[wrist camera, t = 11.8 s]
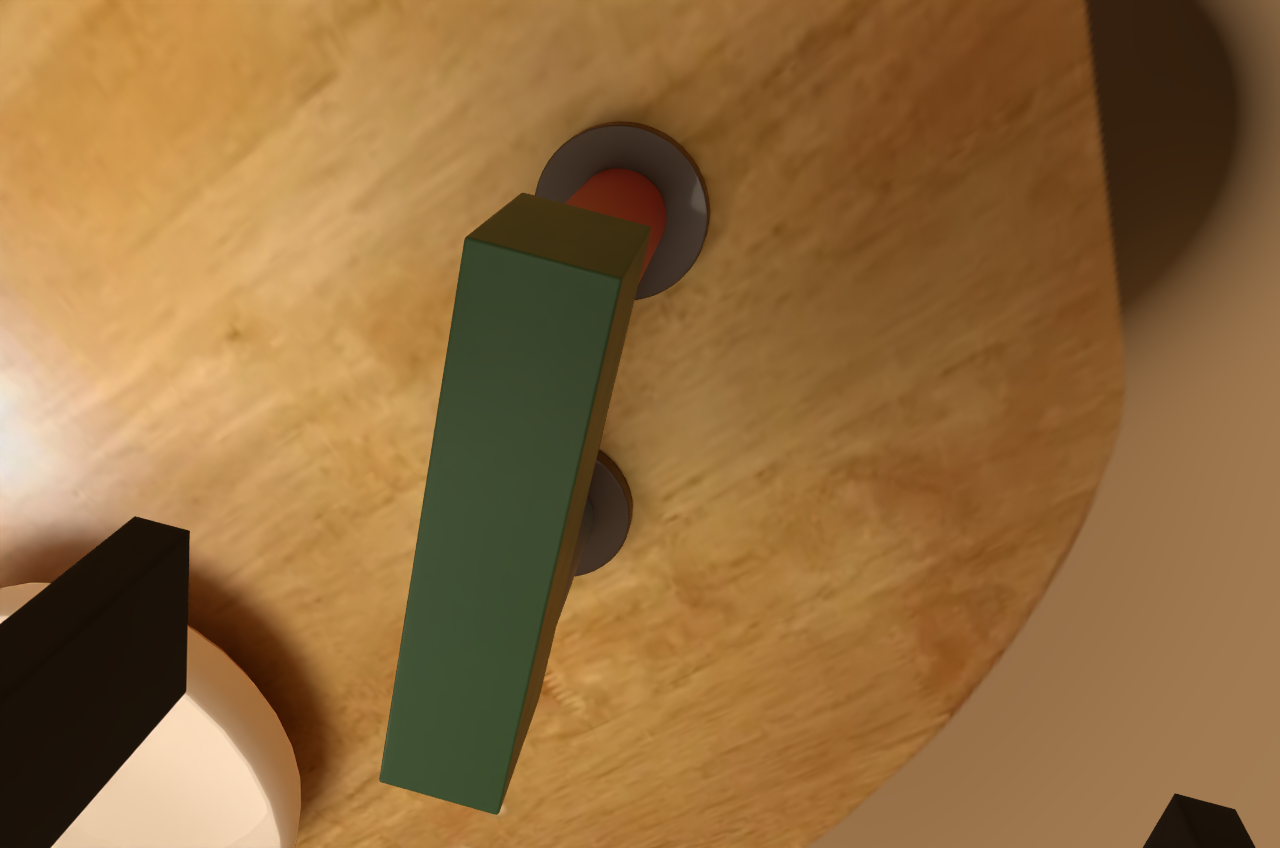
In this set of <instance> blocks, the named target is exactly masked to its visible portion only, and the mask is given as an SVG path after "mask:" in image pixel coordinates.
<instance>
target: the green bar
mask: <svg viewBox="0 0 1280 848" xmlns="http://www.w3.org/2000/svg"><path fill="white" fill-rule="evenodd" d="M650 233H651V227H650V226H647V225H643V224H639V223H636V222H632V221H628V220H624V219H621V218H617V217H613V216H609V215H605V214H602V213H598V212H594V211H590V210H587V209H583V208H579V207H575V206H571V205H568V204H564V203H560V202H556V201H553V200H549V199H545V198H541V197H538V196H534V195H530V194H526V193H521V194H520V195H518V196H517V197H516V198H514V199H513V200H512V201H511V202H509V203H508V204H507V205H506V206H504V207H503V208H502V209H501V210H499V211H498V212H497V213H496V214H494V215H493V216H492V217H490V218H489V219H488V220H487V221H485V222H484V223H483V224H482V225H480V226H479V227H478V228H477V229H475V230H474V231H473V232H472V233H470V234H469V235H468V236H467V237H466V238H465V240H464V246H463V252H462V259H461V265H460V271H459V278H458V284H457V290H456V297H455V303H454V309H453V316H452V322H451V328H450V335H449V341H448V347H447V354H446V360H445V366H444V373H443V379H442V385H441V392H440V398H439V404H438V411H437V417H436V423H435V430H434V436H433V442H432V449H431V455H430V461H429V468H428V474H427V481H426V487H425V493H424V500H423V506H422V512H421V519H420V525H419V531H418V538H417V544H416V550H415V557H414V563H413V569H412V576H411V582H410V588H409V595H408V601H407V607H406V614H405V620H404V626H403V633H402V639H401V645H400V652H399V658H398V664H397V671H396V677H395V683H394V690H393V696H392V702H391V709H390V715H389V721H388V728H387V734H386V740H385V747H384V753H383V759H382V766H381V772H380V778H379V779H380V782H382V783H386V784H390V785H393V786H397V787H400V788H404V789H407V790H411V791H414V792H418V793H421V794H425V795H428V796H432V797H435V798H439V799H442V800H446V801H449V802H453V803H456V804H460V805H464V806H467V807H471V808H474V809H478V810H481V811H485V812H488V813H492V814H495V815H497V814H498V813H499V812H500V809H501V806H502V803H503V800H504V798H505V795H506V792H507V789H508V786H509V783H510V780H511V777H512V775H513V772H514V769H515V766H516V763H517V760H518V757H519V755H520V752H521V749H522V746H523V743H524V740H525V737H526V735H527V732H528V729H529V726H530V723H531V720H532V717H533V715H534V712H535V709H536V706H537V703H538V700H539V696H540V692H541V688H542V684H543V680H544V675H545V671H546V667H547V663H548V659H549V655H550V650H551V646H552V642H553V638H554V634H555V629H556V625H557V621H558V617H559V613H560V609H561V604H562V600H563V596H564V592H565V588H566V584H567V579H568V575H569V571H570V567H571V563H572V558H573V554H574V550H575V546H576V542H577V538H578V533H579V529H580V525H581V521H582V517H583V513H584V508H585V504H586V500H587V496H588V492H589V487H590V483H591V479H592V475H593V471H594V467H595V462H596V458H597V454H598V450H599V446H600V442H601V437H602V433H603V429H604V425H605V421H606V416H607V412H608V408H609V404H610V400H611V396H612V391H613V387H614V383H615V379H616V375H617V371H618V366H619V362H620V358H621V354H622V350H623V345H624V341H625V337H626V333H627V329H628V325H629V320H630V316H631V312H632V308H633V304H634V300H635V295H636V291H637V287H638V283H639V279H640V274H641V270H642V266H643V262H644V258H645V254H646V249H647V245H648V241H649V237H650Z"/></svg>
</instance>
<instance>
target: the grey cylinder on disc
mask: <svg viewBox="0 0 1280 848" xmlns="http://www.w3.org/2000/svg"><path fill="white" fill-rule="evenodd" d="M631 519H632V499H631V494H630V491H629V488H628V485H627V483H626V480H625V479H624V477H623V475H622V473H621V472H620V471H619V469H618V468H617V467H616V465H615V464H614V463H613V462H612V461H611V460H610V459H609V458H608V457H607V456H606V455H604V454H603V453H602V452H601V451H599V450H598V454H597V458H596V462H595V467H594V471H593V475H592V479H591V483H590V487H589V492H588V496H587V500H586V504H585V508H584V513H583V517H582V521H581V525H580V529H579V533H578V538H577V542H576V546H575V550H574V554H573V558H572V563H571V567H570V571H569V575H568V579H567V584H566V588H565V592H564V596H563V600H562V604H561V609H560V613H559V617H560V615H561V612H562V609H563V606H564V604H565V601H566V598H567V595H568V592H569V590H570V587H571V584H572V581H573V579H574V576H580V575H584V574H587V573H590V572H592V571H595V570H597V569H598V568H600V567H602V566H604V565H605V564H606V563H608V562H609V561H610V560H611V559H612V558H613V557H614V556H615V555H616V554H617V553H618V551H619V550H620V549H621V547H622V545H623V544H624V542H625V540H626V537H627V534H628V531H629V528H630V524H631ZM559 617H558V620H559ZM557 623H558V621H557ZM556 626H557V625H556Z"/></svg>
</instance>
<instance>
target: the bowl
mask: <svg viewBox="0 0 1280 848" xmlns="http://www.w3.org/2000/svg"><path fill="white" fill-rule="evenodd" d="M49 584H51V583H26V584H20V585H15V586H9V587H4V588H0V624H1V623H2V622H3V621H4V620H6V619H7V618H8V617H9V616H11V615H12V614H13V613H14V612H16V611H17V610H18V609H19V608H21V607H22V606H23V605H24V604H26V603H27V602H28V601H29V600H31V599H32V598H33V597H34V596H36V595H37V594H38V593H39V592H41V591H42V590H43V589H44V588H46V587H47V586H48V585H49ZM300 811H301V787H300V775H299V771H298V767H297V763H296V759H295V755H294V752H293V748H292V745H291V743H290V741H289V739H288V737H287V735H286V733H285V731H284V729H283V727H282V725H281V722H280V720H279V718H278V716H277V714H276V713H275V711H274V710H273V709H272V707H271V706H270V705H269V703H268V702H267V700H266V699H265V698H264V696H263V695H262V694H261V692H260V691H259V690H258V688H257V687H256V685H255V684H254V683H253V682H252V681H251V679H250V678H249V677H248V675H247V674H246V673H245V672H244V671H243V670H242V669H241V668H240V667H239V666H238V665H237V664H236V663H235V662H234V661H233V660H232V659H231V658H230V657H229V656H228V655H227V654H226V653H225V652H224V651H223V650H222V649H221V648H220V647H218V646H217V645H216V644H214V643H213V642H211V641H210V640H209V639H207V638H206V637H205V636H203V635H202V634H201V633H199V632H198V631H197V630H195V629H194V628H192V627H190V626H188V637H187V686H186V693H185V694H184V695H183V696H182V697H181V699H180V700H179V701H178V702H177V703H176V704H175V705H174V707H173V708H172V709H171V710H170V711H169V712H168V714H167V715H166V716H165V717H164V718H163V719H162V720H161V722H160V723H159V724H158V725H157V726H156V727H155V728H154V730H153V731H152V732H151V733H150V734H149V735H148V737H147V738H146V739H145V740H144V741H143V742H142V743H141V745H140V746H139V747H138V748H137V749H136V750H135V752H134V753H133V754H132V755H131V756H130V757H129V758H128V760H127V761H126V762H125V763H124V764H123V765H122V766H121V768H120V769H119V770H118V771H117V772H116V773H115V775H114V776H113V777H112V778H111V779H110V780H109V781H108V783H107V784H106V785H105V786H104V787H103V788H102V789H101V791H100V792H99V793H98V794H97V795H96V796H95V798H94V799H93V800H92V801H91V802H90V803H89V804H88V806H87V807H86V808H85V809H84V810H83V811H82V813H81V814H80V815H79V816H78V817H77V818H76V819H75V821H74V822H73V823H72V824H71V825H70V826H69V827H68V829H67V830H66V831H65V832H64V833H63V834H62V836H61V837H60V838H59V839H58V840H57V841H56V842H55V844H54V845H53V846H52V847H51V848H295V845H296V841H297V836H298V827H299V819H300Z"/></svg>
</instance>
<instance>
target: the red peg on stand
mask: <svg viewBox="0 0 1280 848" xmlns="http://www.w3.org/2000/svg"><path fill="white" fill-rule="evenodd" d="M535 196H538V197H541V198H545V199H549V200H553V201H556V202H560V203H564V204H568V205H571V206H575V207H579V208H583V209H587V210H590V211H594V212H598V213H602V214H605V215H609V216H613V217H617V218H621V219H624V220H628V221H632V222H636V223H639V224H643V225H647V226H650V227H651V233H650V237H649V241H648V245H647V249H646V254H645V258H644V262H643V266H642V270H641V274H640V279H639V283H638V287H637V291H636V295H635V300H638V299H643V298H647V297H650V296H653V295H656V294H658V293H660V292H662V291H665V290H666V289H668V288H669V287H671V286H672V285H674V284H675V283H676V282H678V281H679V280H680V279H681V278H682V277H683V276H684V275H685V274H686V273H687V272H688V271H689V270H690V268H691V267H692V265H693V264H694V262H695V261H696V259H697V258H698V255H699V253H700V251H701V249H702V247H703V244H704V241H705V238H706V235H707V230H708V225H709V213H710V209H709V198H708V193H707V188H706V185H705V182H704V179H703V177H702V175H701V173H700V171H699V169H698V167H697V165H696V164H695V162H694V161H693V159H692V158H691V156H690V155H689V154H688V153H687V152H686V151H685V150H684V148H683V147H681V146H680V145H679V144H678V143H677V142H676V141H675V140H673V139H672V138H670V137H669V136H667V135H666V134H664V133H662V132H660V131H658V130H656V129H654V128H651V127H648V126H645V125H642V124H637V123H631V122H612V123H605V124H601V125H597V126H594V127H591V128H589V129H586V130H584V131H583V132H581V133H579V134H577V135H576V136H574V137H573V138H571V139H570V140H569V141H567V142H566V143H565V144H563V145H562V146H561V147H560V148H559V149H558V150H557V151H556V152H555V153H554V155H553V156H552V157H551V159H550V160H549V161H548V163H547V165H546V166H545V168H544V170H543V172H542V174H541V177H540V179H539V182H538V185H537V189H536V193H535Z"/></svg>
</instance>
